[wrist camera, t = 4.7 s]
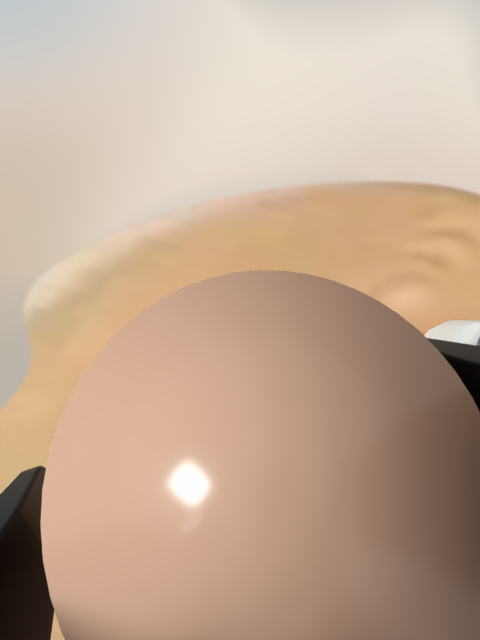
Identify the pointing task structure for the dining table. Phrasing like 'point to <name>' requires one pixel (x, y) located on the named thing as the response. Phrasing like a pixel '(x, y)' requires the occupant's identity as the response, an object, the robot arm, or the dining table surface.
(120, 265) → the dining table surface
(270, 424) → the cover cup
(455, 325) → the white tapered ring
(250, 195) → the dining table surface
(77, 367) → the dining table surface
